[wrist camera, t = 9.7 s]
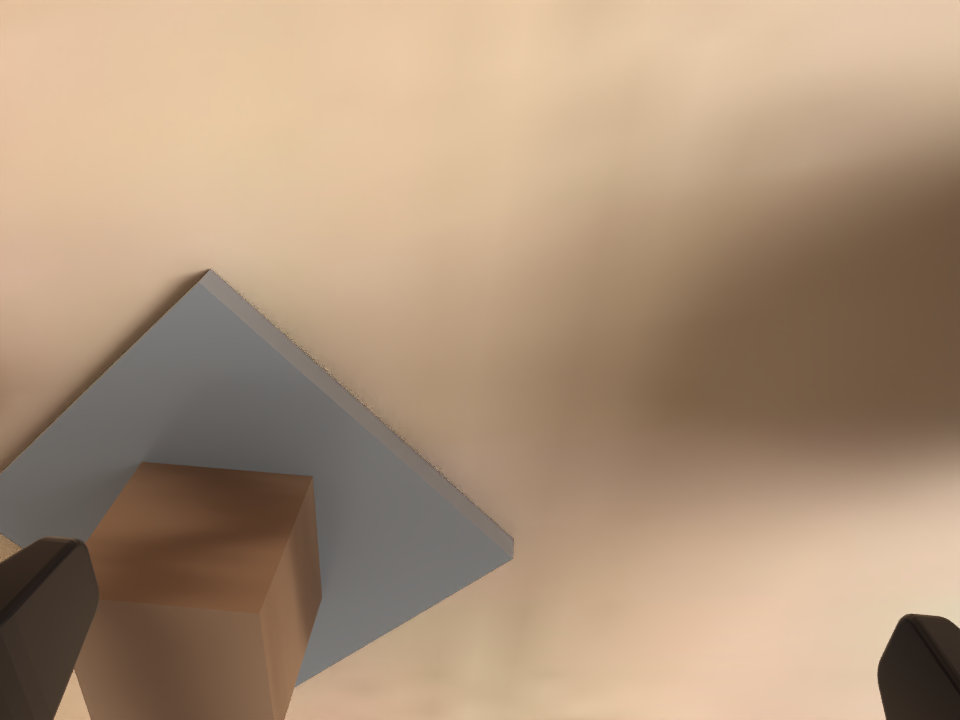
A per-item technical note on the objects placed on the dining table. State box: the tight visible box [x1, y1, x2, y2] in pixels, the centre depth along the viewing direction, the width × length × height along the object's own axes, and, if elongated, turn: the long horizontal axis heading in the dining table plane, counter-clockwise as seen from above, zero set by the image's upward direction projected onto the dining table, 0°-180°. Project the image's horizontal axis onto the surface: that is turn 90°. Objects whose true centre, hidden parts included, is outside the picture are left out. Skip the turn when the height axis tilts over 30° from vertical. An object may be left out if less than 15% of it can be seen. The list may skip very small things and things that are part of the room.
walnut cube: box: [74, 462, 322, 720], centre depth 22 cm, size 5×5×5 cm
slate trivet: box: [0, 269, 514, 687], centre depth 24 cm, size 12×12×1 cm
